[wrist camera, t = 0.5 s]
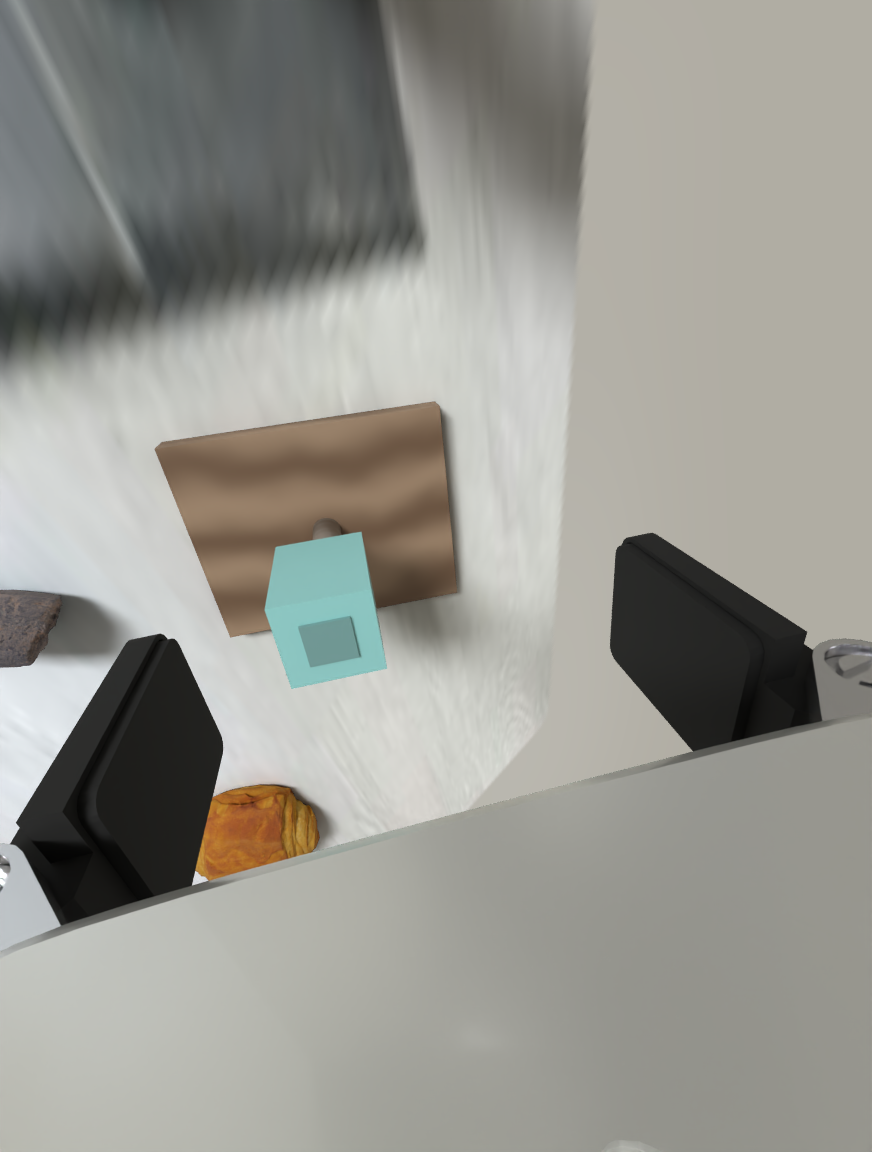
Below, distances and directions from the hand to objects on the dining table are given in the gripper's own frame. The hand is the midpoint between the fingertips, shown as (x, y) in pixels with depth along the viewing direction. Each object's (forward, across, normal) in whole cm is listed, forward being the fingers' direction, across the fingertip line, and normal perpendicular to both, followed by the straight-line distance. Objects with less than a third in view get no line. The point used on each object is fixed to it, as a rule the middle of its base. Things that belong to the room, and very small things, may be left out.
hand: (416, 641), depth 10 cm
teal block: (+24, +4, +10) cm, 27 cm away
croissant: (+36, +22, +47) cm, 64 cm away
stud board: (+34, +4, +10) cm, 36 cm away
